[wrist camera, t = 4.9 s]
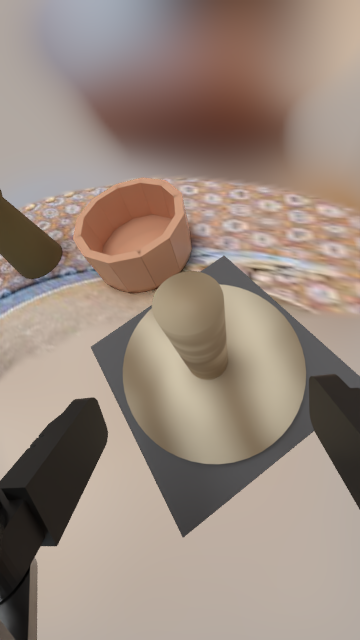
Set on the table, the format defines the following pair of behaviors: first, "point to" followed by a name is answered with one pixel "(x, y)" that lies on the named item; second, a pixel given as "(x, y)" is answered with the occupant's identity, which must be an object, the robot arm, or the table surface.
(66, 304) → the table surface
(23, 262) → the olive pawn
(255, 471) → the mat
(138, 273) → the bowl
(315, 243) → the table surface
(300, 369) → the lid
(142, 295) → the table surface
